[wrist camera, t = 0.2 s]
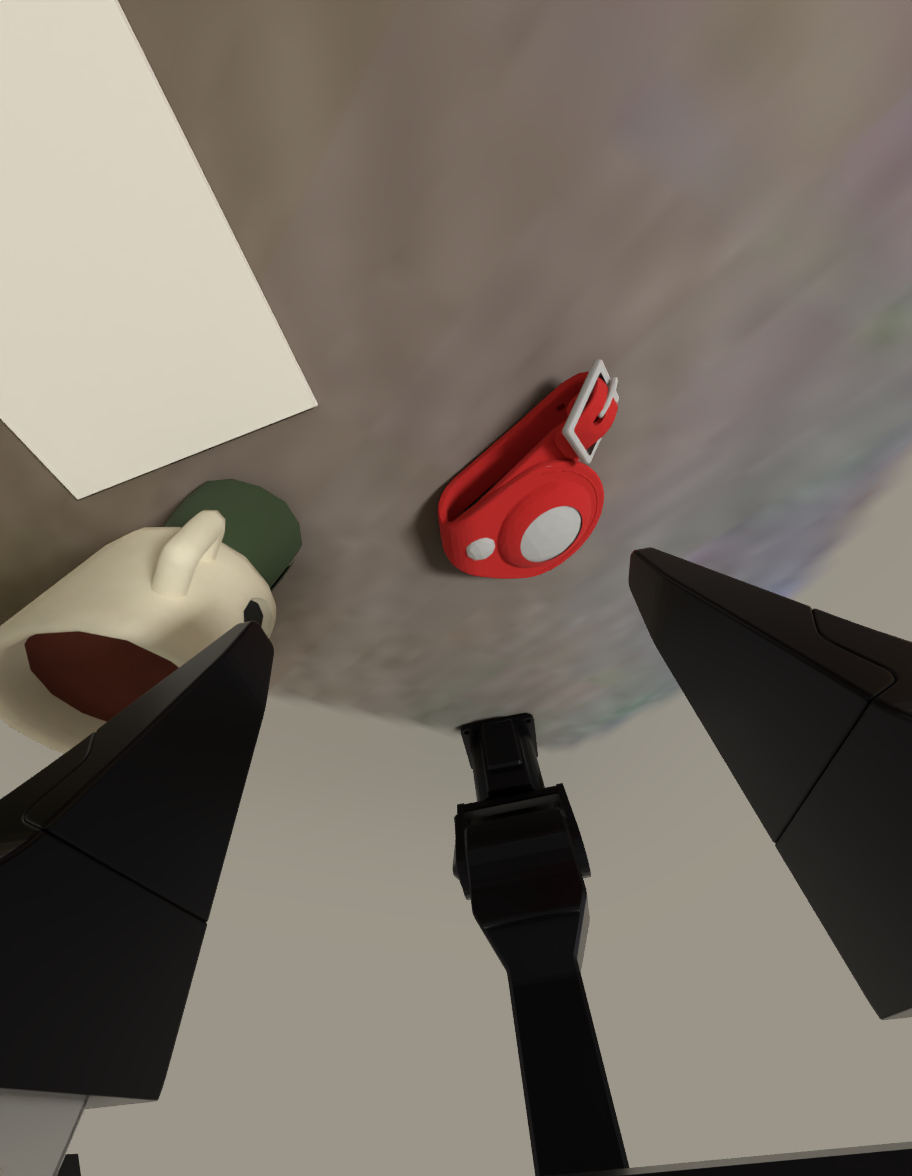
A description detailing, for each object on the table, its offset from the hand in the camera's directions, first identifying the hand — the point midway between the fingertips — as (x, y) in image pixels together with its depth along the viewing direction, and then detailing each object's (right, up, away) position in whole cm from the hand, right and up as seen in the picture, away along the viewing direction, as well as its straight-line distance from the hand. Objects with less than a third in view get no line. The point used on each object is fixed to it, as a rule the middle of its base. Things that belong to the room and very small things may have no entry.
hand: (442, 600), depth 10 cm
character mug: (-12, +4, +14) cm, 19 cm away
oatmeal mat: (-16, +13, +7) cm, 22 cm away
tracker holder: (+5, +7, +14) cm, 17 cm away
